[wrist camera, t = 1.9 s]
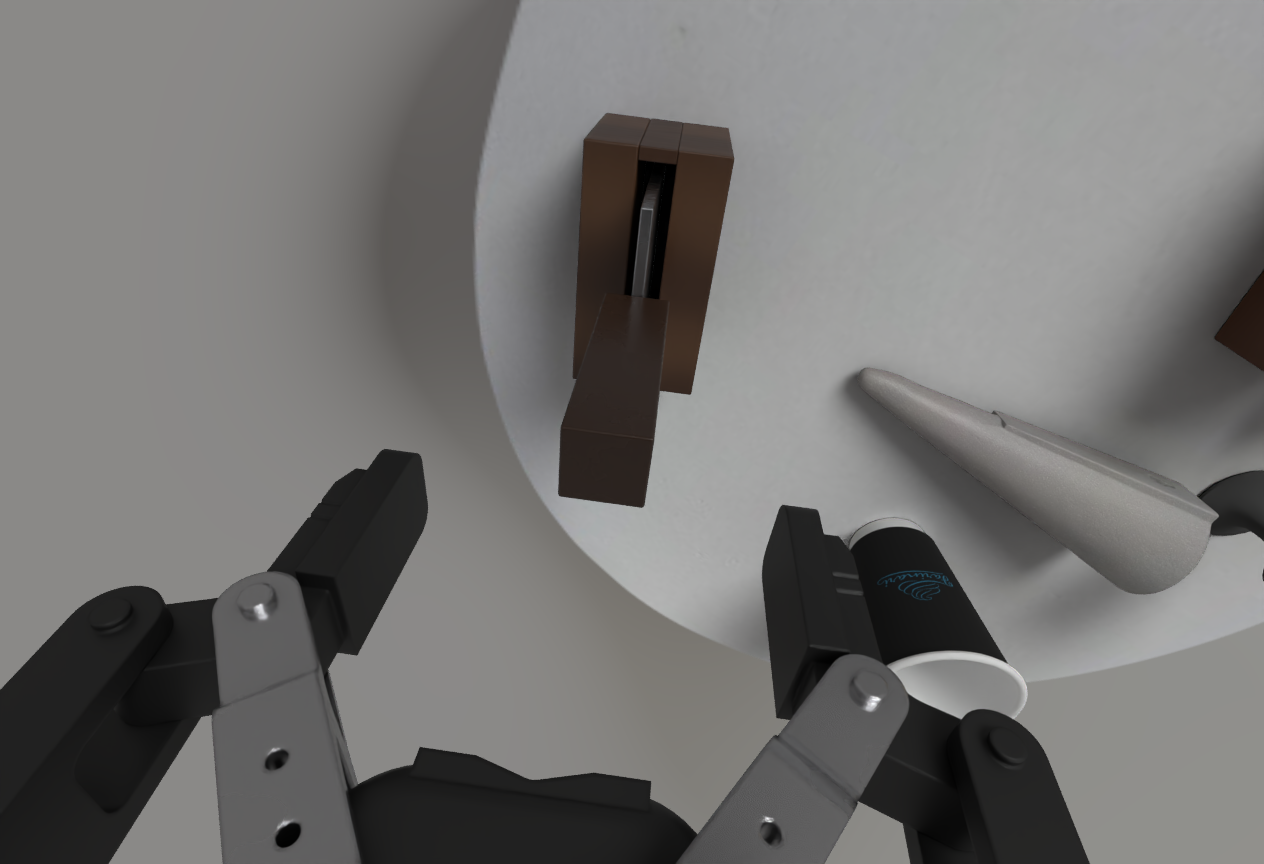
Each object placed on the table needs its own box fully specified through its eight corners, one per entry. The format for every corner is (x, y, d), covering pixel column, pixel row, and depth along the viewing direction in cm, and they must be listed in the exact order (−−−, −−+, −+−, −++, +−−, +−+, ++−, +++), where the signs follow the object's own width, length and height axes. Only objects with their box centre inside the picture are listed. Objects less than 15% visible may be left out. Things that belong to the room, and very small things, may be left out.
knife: (639, 142, 27) (563, 311, 12) (688, 148, 27) (671, 325, 12) (623, 308, 32) (555, 573, 17) (665, 314, 32) (632, 584, 17)
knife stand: (605, 112, 26) (583, 138, 21) (728, 128, 26) (734, 157, 21) (592, 321, 32) (572, 379, 27) (692, 335, 32) (690, 395, 27)
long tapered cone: (814, 485, 32) (1142, 617, 32) (878, 381, 29) (1239, 529, 29) (803, 436, 37) (1087, 551, 38) (857, 343, 34) (1165, 470, 35)
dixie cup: (867, 601, 43) (910, 759, 34) (799, 538, 40) (827, 694, 31) (976, 551, 39) (1058, 714, 30) (910, 478, 36) (978, 635, 27)
